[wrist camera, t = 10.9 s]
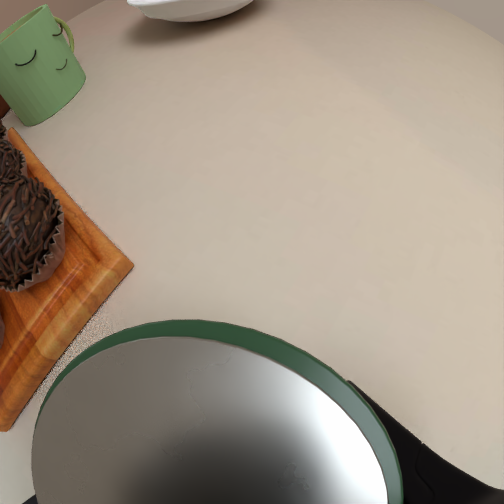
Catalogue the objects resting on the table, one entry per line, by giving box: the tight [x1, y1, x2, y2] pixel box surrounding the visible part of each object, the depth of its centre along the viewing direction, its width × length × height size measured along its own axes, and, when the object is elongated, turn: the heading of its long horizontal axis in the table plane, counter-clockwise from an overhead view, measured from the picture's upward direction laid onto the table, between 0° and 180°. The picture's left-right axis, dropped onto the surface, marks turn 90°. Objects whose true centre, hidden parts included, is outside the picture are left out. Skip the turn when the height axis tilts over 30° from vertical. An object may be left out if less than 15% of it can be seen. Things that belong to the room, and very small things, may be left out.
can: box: [32, 319, 404, 504], centre depth 8 cm, size 6×6×12 cm
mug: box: [0, 4, 86, 126], centre depth 25 cm, size 13×10×12 cm
